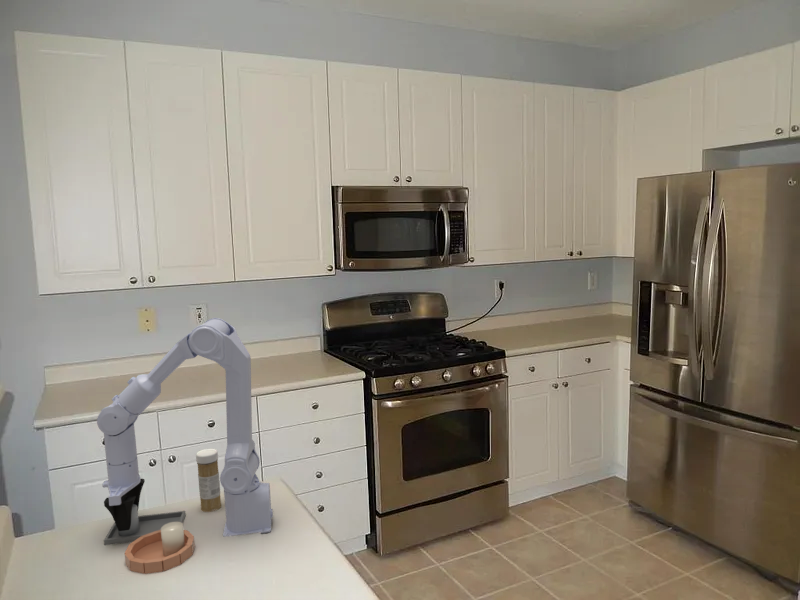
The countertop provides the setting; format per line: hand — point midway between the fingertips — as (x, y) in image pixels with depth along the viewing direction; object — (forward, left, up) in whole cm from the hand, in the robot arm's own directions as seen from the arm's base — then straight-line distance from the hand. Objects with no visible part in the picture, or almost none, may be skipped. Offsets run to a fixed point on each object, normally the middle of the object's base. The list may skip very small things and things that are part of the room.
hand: (128, 522), depth 122 cm
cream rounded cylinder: (-11, +11, -2) cm, 16 cm away
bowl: (-8, +11, -2) cm, 14 cm away
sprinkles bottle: (-16, -7, -3) cm, 17 cm away
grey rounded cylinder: (0, 0, -2) cm, 2 cm away
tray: (-4, 0, -2) cm, 4 cm away
